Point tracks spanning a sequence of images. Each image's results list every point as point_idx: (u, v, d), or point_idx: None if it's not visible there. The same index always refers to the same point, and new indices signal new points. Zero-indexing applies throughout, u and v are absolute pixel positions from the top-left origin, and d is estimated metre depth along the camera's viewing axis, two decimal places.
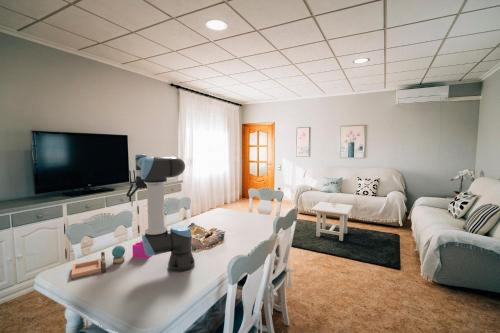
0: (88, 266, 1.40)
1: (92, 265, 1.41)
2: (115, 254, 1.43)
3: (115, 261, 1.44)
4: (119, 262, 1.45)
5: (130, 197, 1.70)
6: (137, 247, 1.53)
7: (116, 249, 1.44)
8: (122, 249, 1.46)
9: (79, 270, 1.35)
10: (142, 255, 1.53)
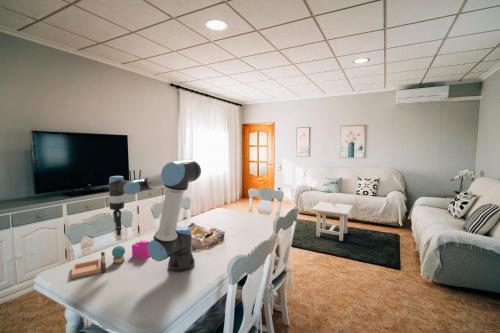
0: (88, 266, 1.40)
1: (92, 265, 1.41)
2: (115, 254, 1.43)
3: (115, 261, 1.44)
4: (119, 262, 1.45)
5: None
6: (136, 247, 1.53)
7: (116, 249, 1.44)
8: (122, 249, 1.46)
9: (79, 270, 1.35)
10: (141, 255, 1.53)
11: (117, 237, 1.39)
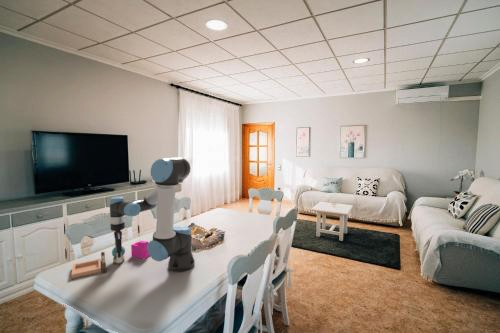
0: (88, 266, 1.40)
1: (92, 265, 1.41)
2: (115, 254, 1.43)
3: (115, 261, 1.44)
4: (119, 262, 1.45)
5: None
6: (135, 247, 1.53)
7: (116, 249, 1.44)
8: (122, 249, 1.46)
9: (79, 270, 1.35)
10: (141, 255, 1.52)
11: (118, 259, 1.43)
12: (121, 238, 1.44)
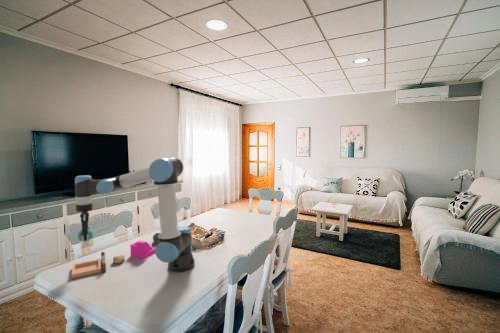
0: (88, 266, 1.40)
1: (92, 265, 1.41)
2: (81, 237, 1.32)
3: (115, 261, 1.44)
4: (119, 262, 1.45)
5: None
6: (134, 247, 1.53)
7: None
8: (89, 232, 1.34)
9: (79, 270, 1.35)
10: (139, 255, 1.52)
11: (84, 243, 1.31)
12: (88, 220, 1.33)
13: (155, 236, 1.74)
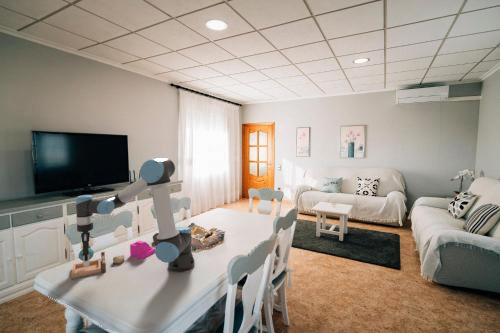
0: (88, 266, 1.40)
1: (92, 265, 1.41)
2: (82, 257, 1.33)
3: (115, 261, 1.44)
4: (119, 262, 1.45)
5: None
6: (134, 247, 1.53)
7: None
8: (90, 252, 1.35)
9: (79, 270, 1.35)
10: (138, 255, 1.52)
11: (84, 262, 1.32)
12: (88, 240, 1.34)
13: (155, 236, 1.75)
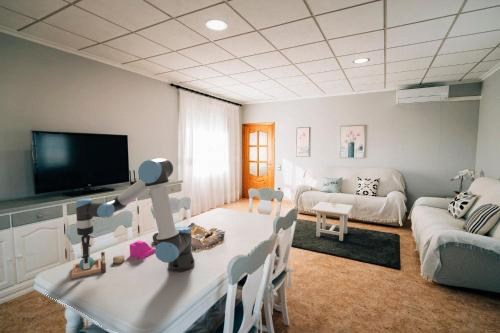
0: None
1: None
2: (82, 266, 1.33)
3: (115, 261, 1.44)
4: (119, 262, 1.45)
5: None
6: (133, 247, 1.54)
7: None
8: (90, 261, 1.36)
9: (79, 270, 1.35)
10: (138, 255, 1.52)
11: (84, 265, 1.30)
12: (89, 242, 1.33)
13: (155, 236, 1.75)
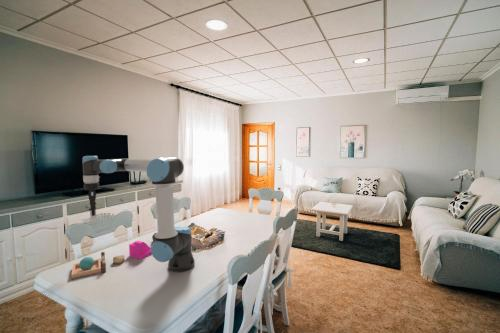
0: None
1: None
2: (82, 266, 1.33)
3: (115, 261, 1.44)
4: (119, 262, 1.45)
5: None
6: (133, 247, 1.54)
7: (83, 261, 1.34)
8: (90, 261, 1.35)
9: (79, 270, 1.35)
10: (137, 255, 1.52)
11: (92, 217, 1.36)
12: (95, 197, 1.39)
13: (154, 236, 1.75)
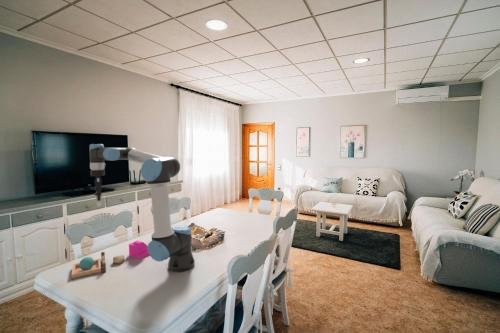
0: None
1: None
2: (82, 266, 1.33)
3: (115, 261, 1.44)
4: (119, 262, 1.45)
5: None
6: (132, 246, 1.54)
7: (83, 261, 1.34)
8: (90, 261, 1.35)
9: (79, 270, 1.35)
10: (136, 255, 1.52)
11: (97, 202, 1.43)
12: (101, 183, 1.46)
13: None
